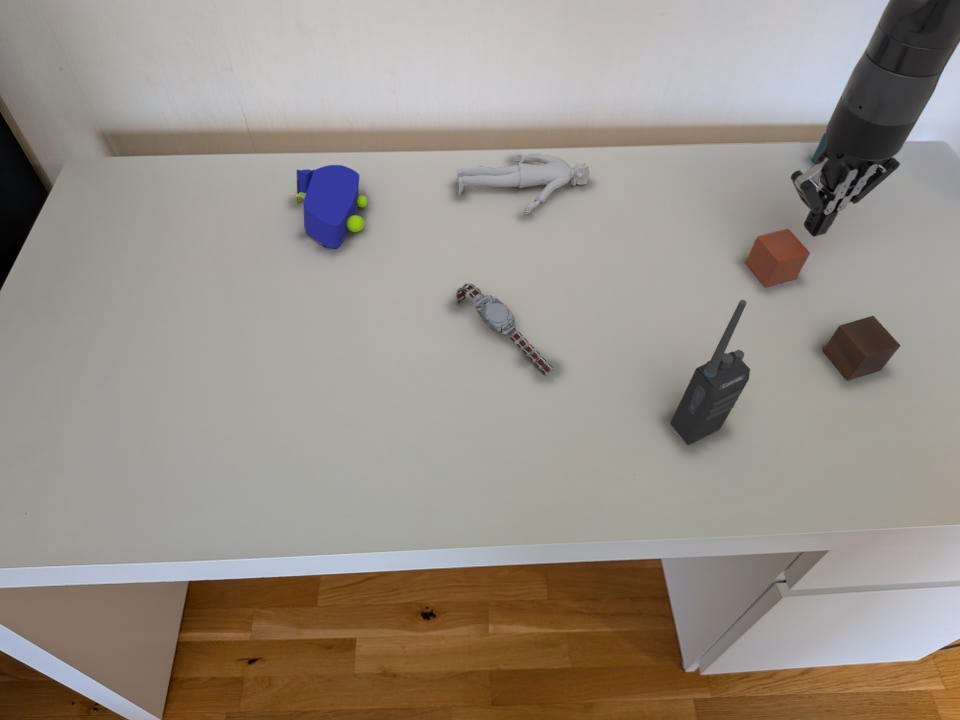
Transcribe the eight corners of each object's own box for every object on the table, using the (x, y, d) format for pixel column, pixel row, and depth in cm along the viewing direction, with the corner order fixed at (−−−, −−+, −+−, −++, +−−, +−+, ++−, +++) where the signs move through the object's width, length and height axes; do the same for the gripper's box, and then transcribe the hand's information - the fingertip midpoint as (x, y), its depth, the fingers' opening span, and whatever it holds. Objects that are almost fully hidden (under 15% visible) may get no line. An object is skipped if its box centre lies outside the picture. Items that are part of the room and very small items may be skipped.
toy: (357, 191, 95) (288, 194, 92) (359, 159, 91) (286, 161, 88) (375, 253, 89) (301, 259, 86) (378, 222, 85) (301, 227, 82)
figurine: (461, 218, 90) (595, 211, 91) (461, 195, 87) (599, 188, 88) (455, 165, 97) (579, 160, 99) (454, 143, 94) (582, 137, 96)
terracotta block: (775, 254, 86) (788, 228, 83) (796, 279, 84) (810, 252, 80) (744, 263, 85) (756, 236, 82) (765, 287, 83) (778, 261, 79)
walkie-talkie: (687, 448, 69) (752, 322, 53) (667, 423, 71) (724, 294, 55) (724, 430, 71) (797, 302, 55) (704, 406, 73) (769, 275, 57)
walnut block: (854, 340, 78) (873, 315, 74) (880, 370, 76) (901, 345, 72) (822, 350, 77) (839, 325, 74) (847, 381, 75) (866, 356, 71)
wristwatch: (466, 291, 82) (474, 269, 78) (548, 378, 80) (561, 361, 75) (444, 307, 80) (451, 286, 76) (527, 396, 78) (539, 379, 74)
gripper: (850, 135, 64) (785, 265, 78) (963, 108, 67) (880, 238, 80) (803, 92, 68) (749, 223, 82) (911, 68, 71) (841, 199, 85)
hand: (814, 230), depth 81 cm, fingers closed
